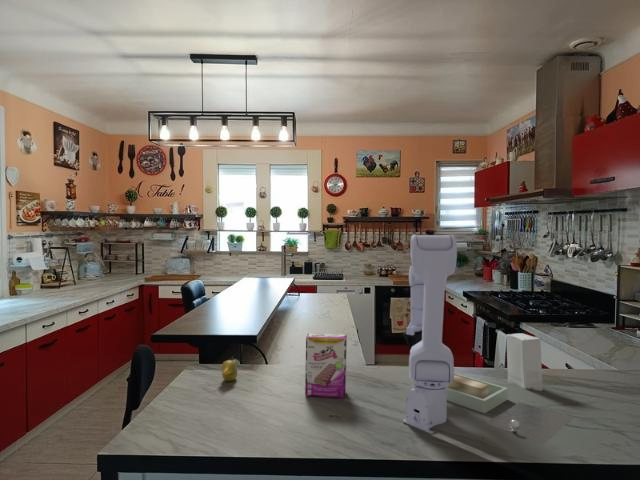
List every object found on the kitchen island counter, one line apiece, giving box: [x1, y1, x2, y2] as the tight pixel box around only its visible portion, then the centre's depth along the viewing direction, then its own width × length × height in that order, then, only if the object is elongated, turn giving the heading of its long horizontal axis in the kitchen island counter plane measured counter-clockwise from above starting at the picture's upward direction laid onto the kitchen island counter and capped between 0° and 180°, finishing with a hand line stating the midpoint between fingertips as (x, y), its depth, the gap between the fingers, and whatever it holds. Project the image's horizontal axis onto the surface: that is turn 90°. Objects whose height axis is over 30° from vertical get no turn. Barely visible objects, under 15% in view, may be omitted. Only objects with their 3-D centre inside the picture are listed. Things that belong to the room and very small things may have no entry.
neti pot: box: [220, 359, 238, 382], centre depth 120 cm, size 4×15×6 cm, turn 1°
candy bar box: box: [304, 332, 348, 399], centre depth 109 cm, size 11×5×16 cm, turn 84°
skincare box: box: [506, 332, 544, 392], centre depth 116 cm, size 8×6×15 cm
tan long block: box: [448, 375, 488, 399], centre depth 107 cm, size 12×4×4 cm, turn 41°
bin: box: [447, 372, 509, 414], centre depth 107 cm, size 13×19×4 cm
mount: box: [485, 401, 573, 445], centre depth 92 cm, size 18×12×4 cm, turn 131°
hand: (420, 355), depth 114 cm, fingers open, 7 cm apart
